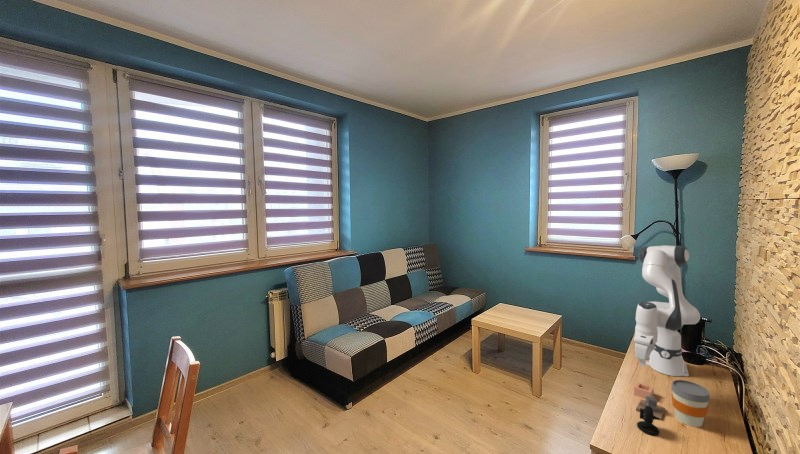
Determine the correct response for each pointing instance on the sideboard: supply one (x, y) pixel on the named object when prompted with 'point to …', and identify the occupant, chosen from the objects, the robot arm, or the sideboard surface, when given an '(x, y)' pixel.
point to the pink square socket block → (643, 390)
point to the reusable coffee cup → (690, 402)
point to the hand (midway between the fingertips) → (644, 362)
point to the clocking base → (656, 413)
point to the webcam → (647, 421)
